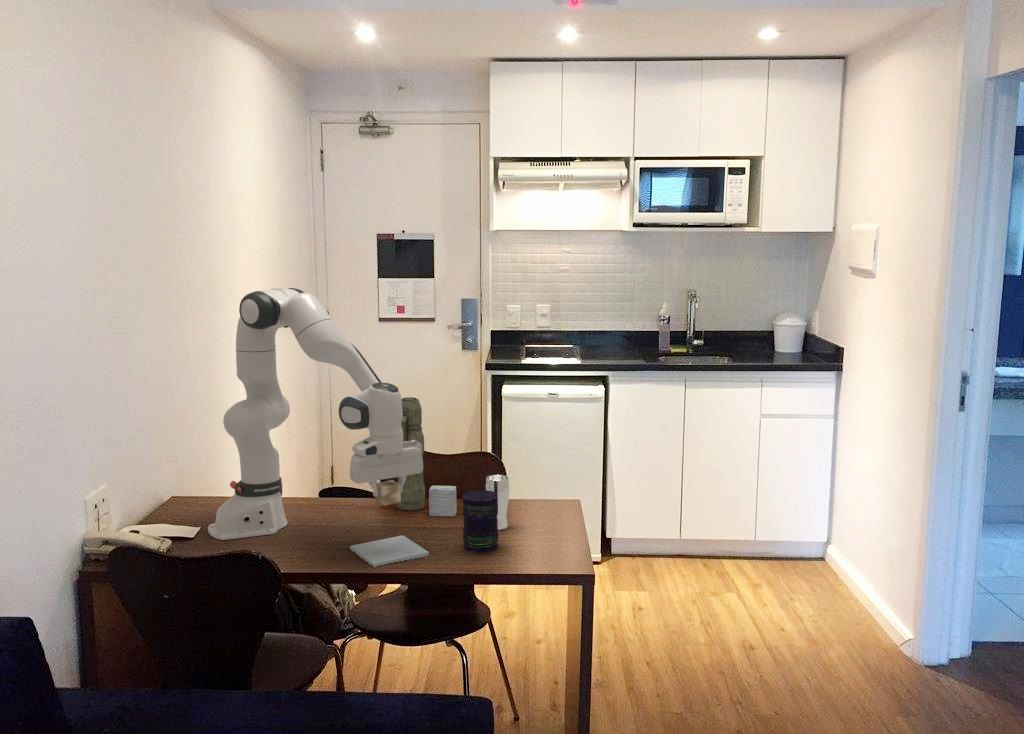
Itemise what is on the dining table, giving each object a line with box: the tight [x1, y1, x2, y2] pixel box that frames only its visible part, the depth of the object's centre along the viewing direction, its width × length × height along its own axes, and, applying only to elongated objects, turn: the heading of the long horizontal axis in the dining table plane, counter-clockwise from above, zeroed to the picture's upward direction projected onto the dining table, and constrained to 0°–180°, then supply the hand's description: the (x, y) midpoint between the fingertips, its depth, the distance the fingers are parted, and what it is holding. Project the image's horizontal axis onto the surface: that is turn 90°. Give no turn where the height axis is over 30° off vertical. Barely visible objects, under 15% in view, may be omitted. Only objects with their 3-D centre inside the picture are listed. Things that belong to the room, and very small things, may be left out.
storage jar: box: [462, 489, 499, 554], centre depth 243 cm, size 10×10×15 cm
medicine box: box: [428, 485, 458, 517], centre depth 272 cm, size 8×4×9 cm, turn 84°
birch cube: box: [375, 479, 401, 506], centre depth 238 cm, size 5×5×5 cm
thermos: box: [397, 396, 426, 511], centre depth 277 cm, size 9×12×35 cm
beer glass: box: [485, 474, 510, 531], centre depth 260 cm, size 7×7×15 cm
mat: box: [349, 535, 430, 568], centre depth 240 cm, size 16×16×1 cm
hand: (387, 493), depth 238 cm, fingers closed on birch cube, 5 cm apart
